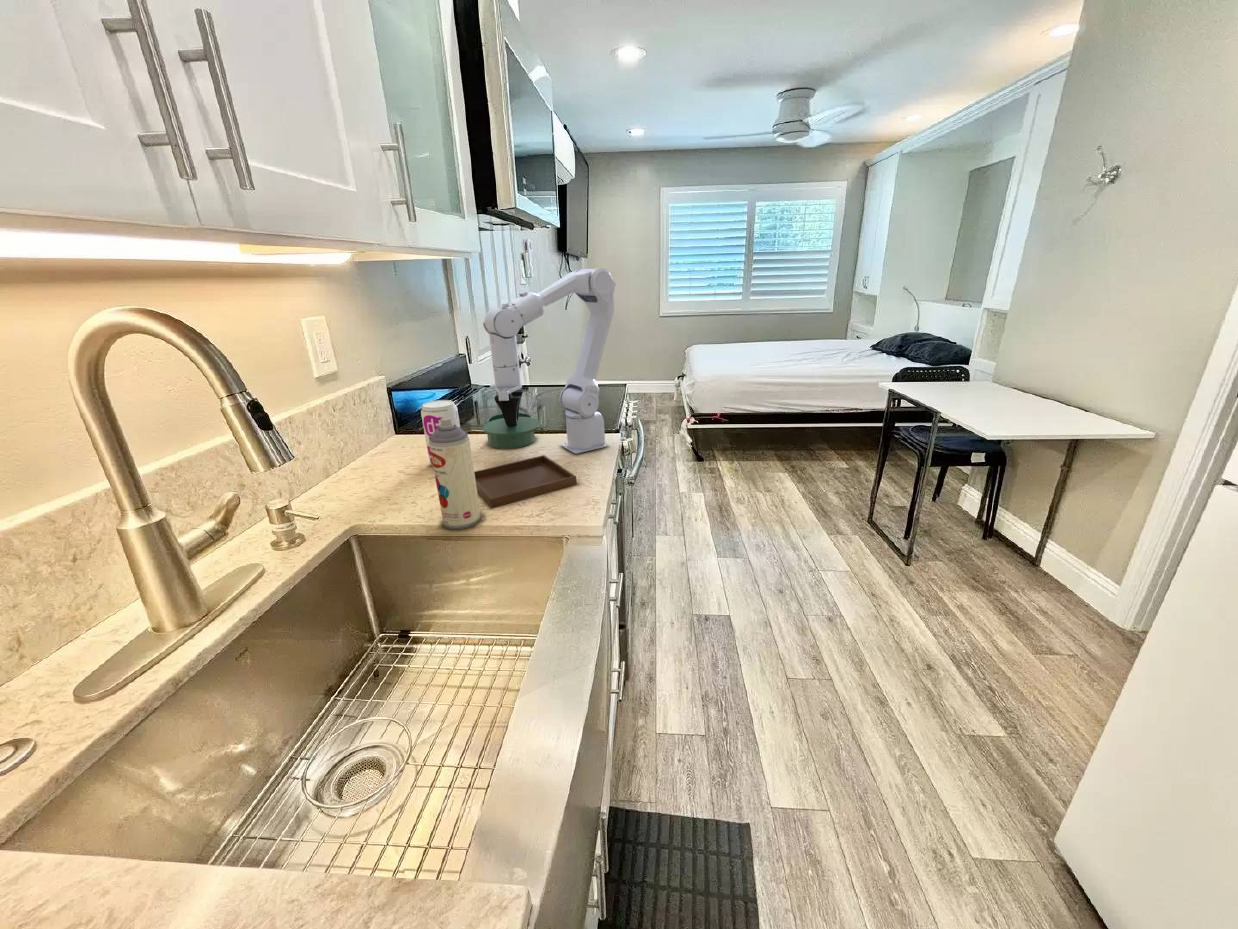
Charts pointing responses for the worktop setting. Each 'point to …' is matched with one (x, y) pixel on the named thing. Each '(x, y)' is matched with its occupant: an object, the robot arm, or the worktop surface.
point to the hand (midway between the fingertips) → (512, 423)
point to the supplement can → (437, 417)
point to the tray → (521, 480)
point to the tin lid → (512, 427)
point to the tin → (510, 441)
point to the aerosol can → (454, 476)
